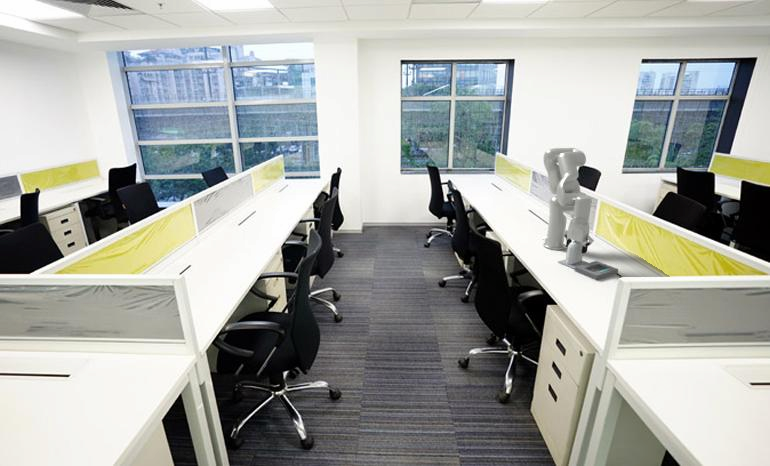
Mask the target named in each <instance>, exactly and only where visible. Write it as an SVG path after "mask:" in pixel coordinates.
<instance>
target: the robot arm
mask: <svg viewBox="0 0 770 466" xmlns="http://www.w3.org/2000/svg"><path fill="white" fill-rule="evenodd" d="M586 157H587V156H586V154H585V153H584V151H581V149H577V148H575V147H557V148H549V149H548V150H546V151H545V152H544V154H543V164H544V167H545V170H546V172H547V177H548V184H549V190H550V192H551V194H552V195H555V196H553V197H551V198H550V199H549V202H548V204H549V205H548V206H549V207H548V208H549V219H548V225H547V226H548V227H547V235H544V236H543V237H542V238H541V239H542V240H543V241H544V242H543V245H542V246H543V247H544V248H546V249H549V250H554V251H562V250H565V249H566V248H568V245H569V244H570V243H571V242H573V241H577V242H582V244H583V246H582V252H581V253H583V254H586V253H587V252H588V248H589V246H590V245H592V244H593V242H594V241H595V240H594V239H593V238H592V236H590V223H589V220H590V214H591V208H592V201H593V200H592V199H593V198H592V197H591V196H588V195H587V194H586V193H585V192H581V186H580V182H579V181H578V178H579V177H580V176H579V170H578V167H580V168H581V167H583V166H584V165H585V164H586V162H587V158H586ZM566 212H568V213H570V212H572V215H571V216H570V217H571V220H570V221H569V225H568V228H566V227H567V217H566V215H565V214H564V213H566ZM566 229H567V230H566ZM565 241H566V244H565Z"/></svg>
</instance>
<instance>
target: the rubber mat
mask: <svg viewBox="0 0 770 466" xmlns="http://www.w3.org/2000/svg"><path fill="white" fill-rule="evenodd" d="M557 263H558V264H561V265H563V266H565V267H568V268H570V269H573V270H575V267H576V266H580V265H583V264H587V263H589V262H588V261H585V260H584V259H582V261H581V262H578V263H575V264H567V263H566V259H562V260H560V261H557Z"/></svg>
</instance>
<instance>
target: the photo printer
mask: <svg viewBox="0 0 770 466" xmlns="http://www.w3.org/2000/svg"><path fill="white" fill-rule="evenodd" d="M582 246H583V244H582V242H577V241H575V240H572V242H571V243H570V244H569V245H568V247H566V248H567V249H566V255H565V260H566V263H567V264H575V263H578V262H581V261H582V260H583V257H584V253H581V252H582Z"/></svg>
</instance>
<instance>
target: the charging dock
mask: <svg viewBox="0 0 770 466" xmlns="http://www.w3.org/2000/svg"><path fill="white" fill-rule="evenodd" d="M596 269H600V270H596ZM593 270H596V271H593ZM574 272H576V273H579V274H580V275H583V276H585V277H588V278H590V279H592V280H593V281H597V280H600V279H605V278H607V277H611V276H615V275H616V274H618V273H619V268H616V267H613V266H611V265H608V264H606V263H604V262H600V261H598V260H594V261H590V262H588V263H587V264H583V265H580V266H576V267H575V269H574Z"/></svg>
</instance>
